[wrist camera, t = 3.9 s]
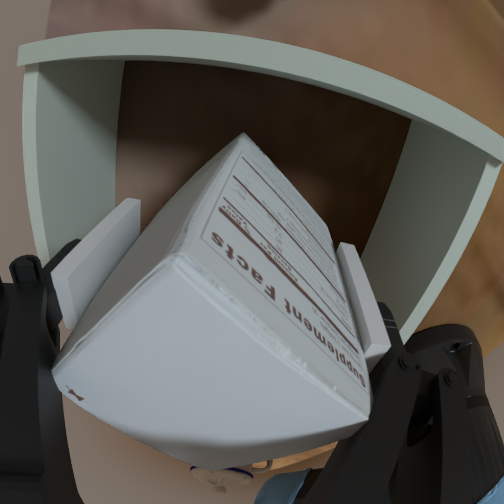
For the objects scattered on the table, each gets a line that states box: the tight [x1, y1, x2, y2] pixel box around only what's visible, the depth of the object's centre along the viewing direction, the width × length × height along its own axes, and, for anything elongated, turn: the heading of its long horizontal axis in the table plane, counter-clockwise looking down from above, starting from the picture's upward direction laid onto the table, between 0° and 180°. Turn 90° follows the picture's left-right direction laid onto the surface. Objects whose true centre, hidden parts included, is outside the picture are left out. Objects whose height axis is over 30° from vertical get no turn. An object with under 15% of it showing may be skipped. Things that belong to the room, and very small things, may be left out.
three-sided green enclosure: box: [17, 29, 504, 344], centre depth 16 cm, size 15×22×10 cm
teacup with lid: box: [190, 459, 273, 494], centre depth 36 cm, size 12×9×12 cm
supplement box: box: [51, 133, 374, 471], centre depth 12 cm, size 7×7×13 cm
